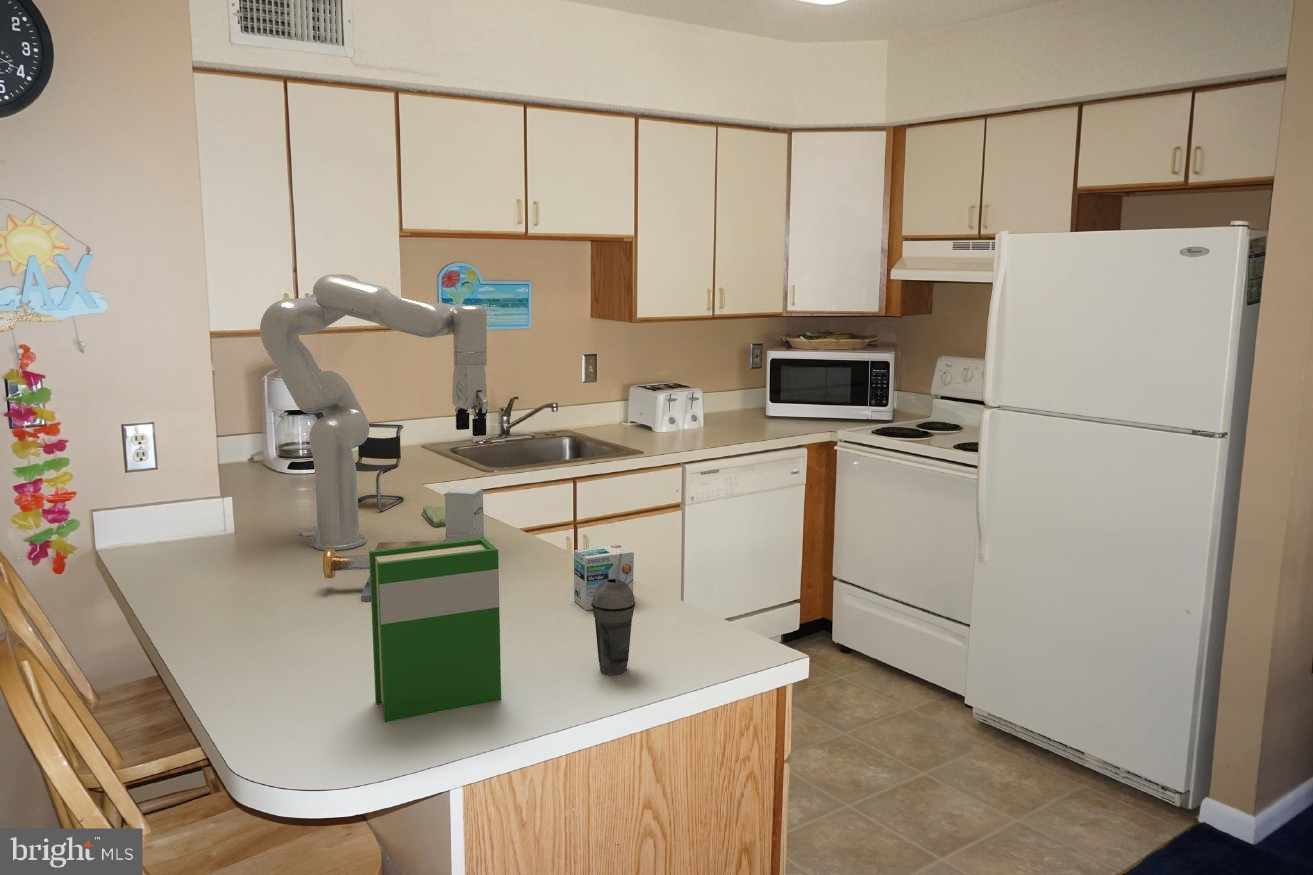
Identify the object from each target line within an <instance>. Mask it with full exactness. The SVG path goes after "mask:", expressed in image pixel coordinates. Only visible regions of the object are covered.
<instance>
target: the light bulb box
mask: <svg viewBox="0 0 1313 875" xmlns="http://www.w3.org/2000/svg"><path fill="white" fill-rule="evenodd" d="M573 552H574V553H573V578H574V579H573V593H574V594H573V600H574V602H575V603H577V604H578V605H579V606H580V607H582V609H584V610H585V611H593V608H592V605H591V604H592V599H593V595H594V592H595V590H596V588H597V587H598V586H599V585H600V584H601V583H602V582H604V581H605V580H608V579H616V576H617V568H618V560H619V554H620V553H621V554H622V561H621V569H620V577H619V580H622V581H623V582H625V583H626V584H628V586H629V587H630V588H631V590H632V592H633V593H634V569H635V568H634V566H635V564H634V563H635V562H634V560H635V559H634V558H635V556H634V555H635V553H634V551H632V550H630V549H629V548H627V547H626V546H624V545H622V544H620V543H618V544H612V545H604V546H596V547H590V548H589V547H588V548H581V549H574V550H573Z"/></svg>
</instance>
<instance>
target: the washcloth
mask: <svg viewBox="0 0 1313 875" xmlns="http://www.w3.org/2000/svg"><path fill="white" fill-rule="evenodd" d="M420 514H421V516H422V517H423V518H424V519H425V520H426V521H427V522H428V524H430V525H431V526H432V527H433V528H441V526H443V527H446V518H445V504H440V505H439V504H438V505H437V506H435V505H434V506H433V505H425V506H423V507H422V511H421V512H420Z"/></svg>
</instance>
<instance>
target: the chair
mask: <svg viewBox="0 0 1313 875" xmlns="http://www.w3.org/2000/svg"><path fill="white" fill-rule="evenodd" d="M369 428H378V429H396V433H395V436H392V437H371V436H368V438H367V439H366V441H365V442H364V443H363V444H361V445H360V446H358V447H357V452H358V454H357V456H358V458H357V459H358V460H357V461H355V465H356V472H362V473H363V472H365V473H366V472H378V473H377V474H376V478H375V481H376V482H375V485H376V486H375V487H376V492H375V493H376V494H366V495H362V496H360V497H358V503H360V502H362V501H364V499H365V500H368V499H369V498H371V499H376V507H377V509H378V511H380V512H385V511H386V510H388V509H390V508H393V507H395V506H396V504H397V505H399V504H400V502H401V503H402V502H404V496H401V495H389V494H386V495H384V494H381V491H382V490H381V477H382V475H384V474H387V473H388V472H390V471H392V470H395V469H397V468H399V466H400V464H401V459H402V453H401V431H402V430H403V429H404V425H402V424H389V423H369ZM363 458H365V459H372V460H373V459H374V460H375V459H376V460H377V459H378V460H396V462H395V463H392V464H370V463H364V462H363ZM381 498H384V499H383V500H394V501H392V502H390V503H389V504H387V505H384V506H383V507H382V499H381ZM396 499H398V500H396ZM398 503H399V504H398ZM392 506H393V507H392Z"/></svg>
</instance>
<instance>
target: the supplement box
mask: <svg viewBox="0 0 1313 875" xmlns="http://www.w3.org/2000/svg"><path fill="white" fill-rule="evenodd" d="M444 505H445V518H446V526H445V540H446V542H452V541H461V540H469V539H478V538H484V536H485V535H484V534H485V531H484V529H485V527H484V526H485V524H484V488H483V487H473V486H472V487H471V486H455V487H454V488H451V489H450V490H448V491H446V492H445V493H444Z"/></svg>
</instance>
